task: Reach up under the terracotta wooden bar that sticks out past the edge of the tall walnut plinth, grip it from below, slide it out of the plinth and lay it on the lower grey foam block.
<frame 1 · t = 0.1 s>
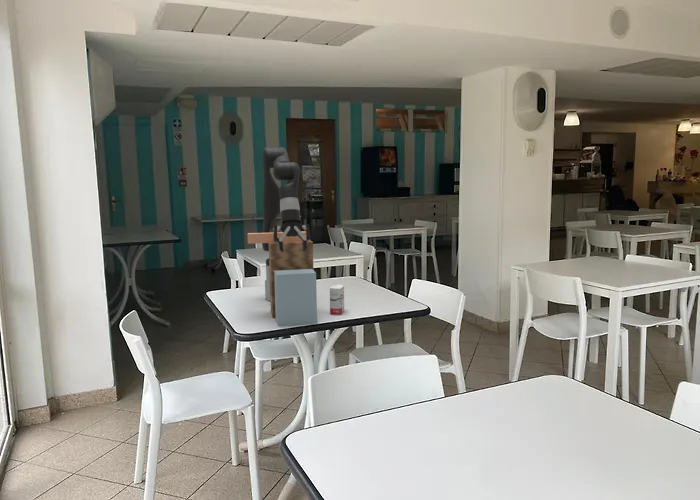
hand: (293, 251, 211), 31 cm above the table, tool tilted 20°, fingers open, 8 cm apart
plinth: (292, 313, 241), on the table
ink box: (337, 312, 243), on the table
grey foam block: (296, 321, 229), on the table
bar: (278, 241, 236), point 32 cm above the table, touching plinth
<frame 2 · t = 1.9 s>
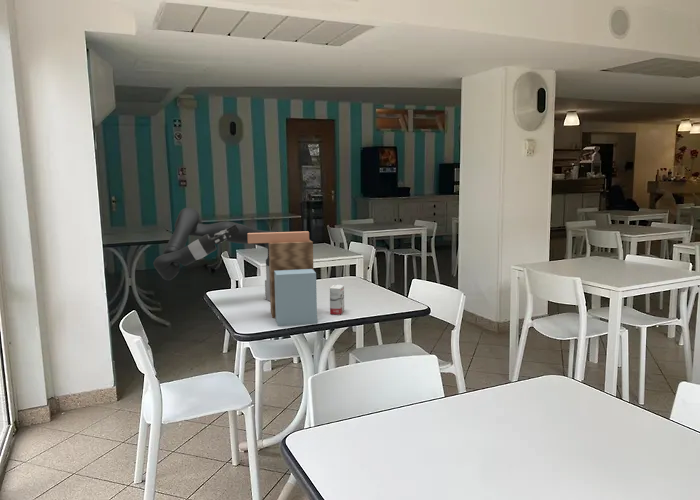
hand: (237, 227, 227), 39 cm above the table, tool pointing upward, fingers open, 8 cm apart
nothing on the table moved.
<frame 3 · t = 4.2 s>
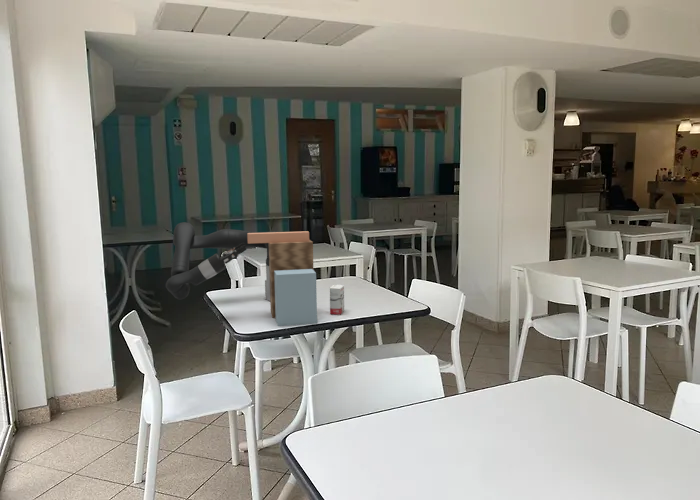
hand: (245, 245, 233), 31 cm above the table, tool pointing upward, fingers open, 8 cm apart
nothing on the table moved.
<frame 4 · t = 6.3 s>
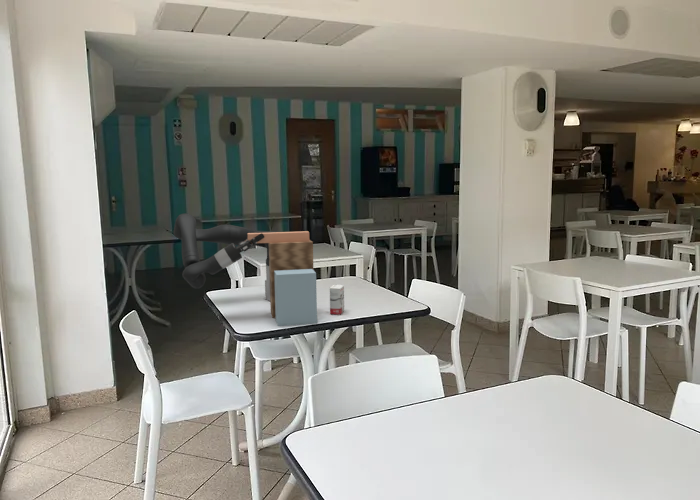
hand: (262, 234, 234), 35 cm above the table, tool pointing upward, fingers closed on bar, 4 cm apart
bar: (278, 241, 236), point 32 cm above the table, touching gripper, plinth
everything else where it was.
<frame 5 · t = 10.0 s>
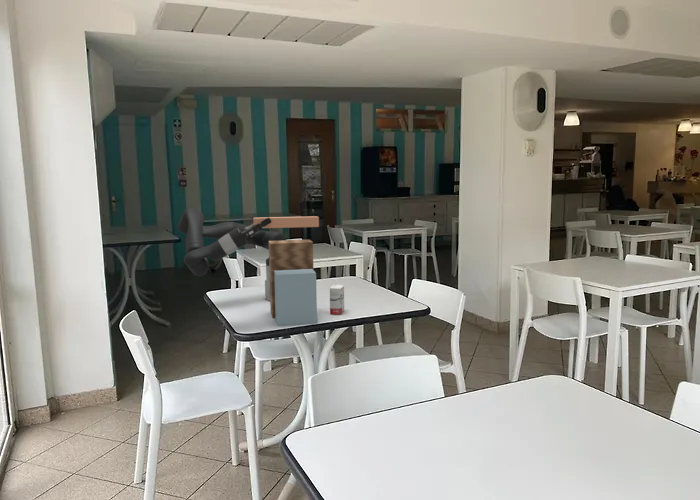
hand: (269, 219, 221), 43 cm above the table, tool pointing upward, fingers closed on bar, 4 cm apart
bar: (286, 227, 222), point 39 cm above the table, touching gripper
everything else where it was.
when the fingers open (26 cm above the table, at t = 13.5 s): bar drops 1 cm, resting on grey foam block.
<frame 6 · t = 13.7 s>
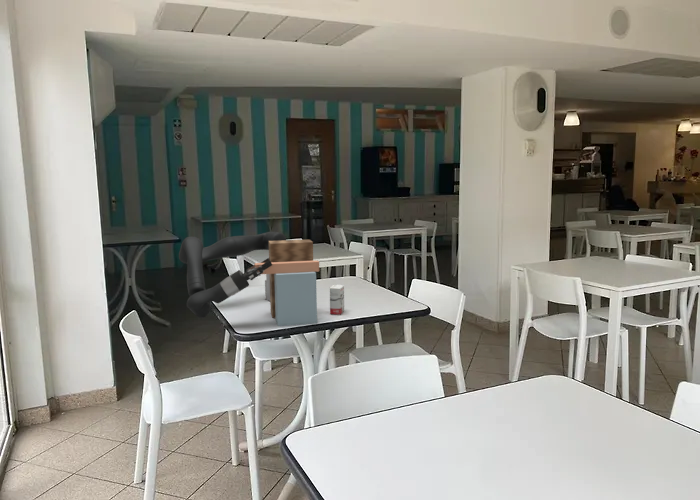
hand: (270, 261, 223), 26 cm above the table, tool pointing upward, fingers open, 6 cm apart
bar: (287, 272, 225), point 21 cm above the table, touching grey foam block
everything else where it was.
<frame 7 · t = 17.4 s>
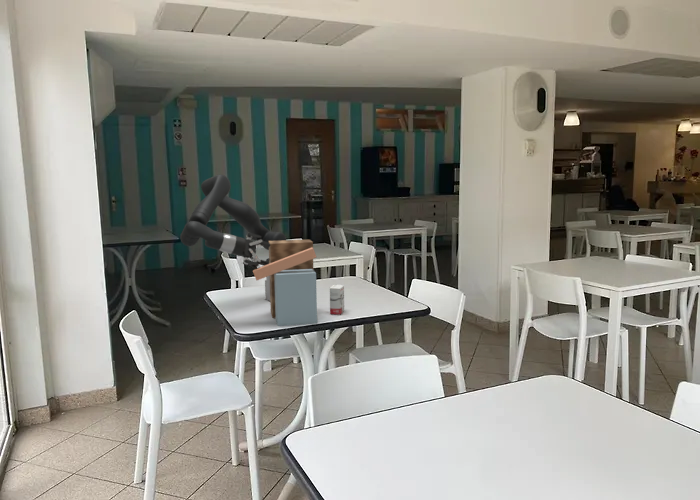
hand: (268, 254, 229), 28 cm above the table, tool tilted 70°, fingers open, 8 cm apart
bar: (286, 268, 225), point 23 cm above the table, tilted 19°
everything else where it was.
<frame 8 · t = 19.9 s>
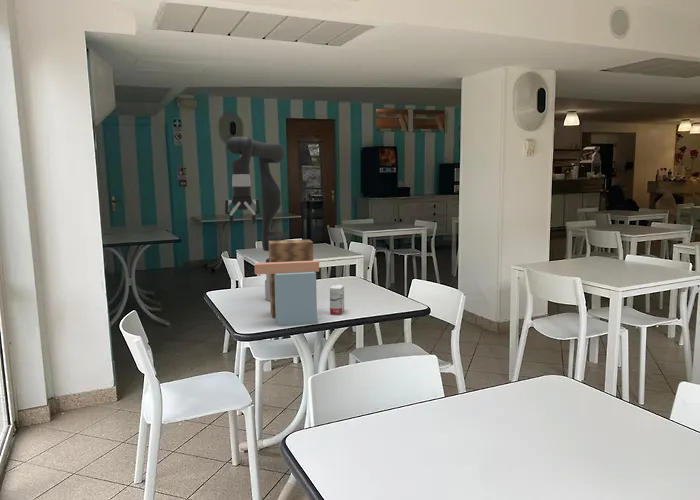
hand: (242, 224, 231), 40 cm above the table, tool pointing down, fingers open, 8 cm apart
bar: (287, 272, 225), point 21 cm above the table, touching grey foam block
everything else where it was.
at the end: bar inside the target area on the grey foam block (3.2 cm from its centre), point 21.0 cm above the grey foam block's base; bar touching grey foam block; the gripper is holding nothing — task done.
